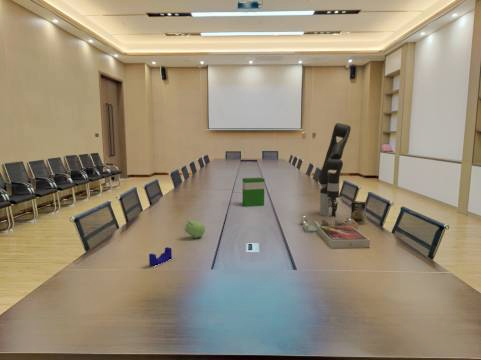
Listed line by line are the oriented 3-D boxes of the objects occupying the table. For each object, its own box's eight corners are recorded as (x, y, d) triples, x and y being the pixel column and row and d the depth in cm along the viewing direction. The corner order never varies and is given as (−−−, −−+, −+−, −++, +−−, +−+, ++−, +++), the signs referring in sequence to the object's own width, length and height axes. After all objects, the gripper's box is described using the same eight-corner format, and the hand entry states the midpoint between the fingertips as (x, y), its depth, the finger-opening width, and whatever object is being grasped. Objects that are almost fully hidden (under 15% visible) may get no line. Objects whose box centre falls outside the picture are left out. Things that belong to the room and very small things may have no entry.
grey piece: (302, 227, 225) (302, 219, 224) (355, 227, 225) (356, 219, 224) (305, 232, 214) (305, 223, 214) (361, 232, 214) (361, 223, 213)
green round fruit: (196, 233, 211) (196, 216, 209) (207, 237, 203) (207, 220, 201) (180, 237, 202) (180, 220, 201) (191, 242, 195) (191, 223, 193)
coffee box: (350, 224, 232) (351, 202, 230) (351, 222, 237) (353, 200, 235) (364, 226, 228) (365, 203, 225) (365, 224, 233) (366, 201, 231)
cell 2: (327, 215, 220) (328, 205, 219) (334, 215, 220) (335, 205, 219) (329, 217, 216) (330, 207, 215) (336, 217, 216) (337, 207, 215)
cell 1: (299, 223, 235) (300, 214, 234) (306, 223, 234) (306, 214, 233) (300, 225, 230) (301, 215, 229) (307, 225, 230) (307, 215, 229)
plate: (325, 225, 222) (325, 224, 222) (334, 225, 222) (334, 224, 222) (327, 227, 216) (327, 226, 216) (337, 227, 216) (337, 226, 216)
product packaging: (331, 249, 185) (331, 240, 184) (317, 233, 213) (317, 226, 212) (369, 248, 186) (369, 239, 185) (350, 233, 214) (350, 225, 213)
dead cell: (345, 227, 221) (345, 216, 220) (351, 227, 221) (352, 217, 220) (347, 229, 217) (347, 218, 216) (354, 229, 217) (354, 218, 216)
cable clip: (165, 257, 171) (164, 246, 170) (171, 259, 168) (171, 248, 168) (147, 265, 161) (146, 253, 160) (153, 267, 158) (153, 255, 158)
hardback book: (261, 203, 299) (261, 177, 296) (264, 205, 292) (264, 178, 289) (242, 205, 294) (242, 178, 291) (245, 206, 287) (245, 179, 284)
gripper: (342, 191, 209) (341, 218, 211) (336, 188, 223) (335, 213, 225) (330, 191, 209) (329, 218, 211) (324, 188, 223) (324, 213, 225)
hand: (332, 215), depth 218 cm, fingers closed on cell 2, 4 cm apart
